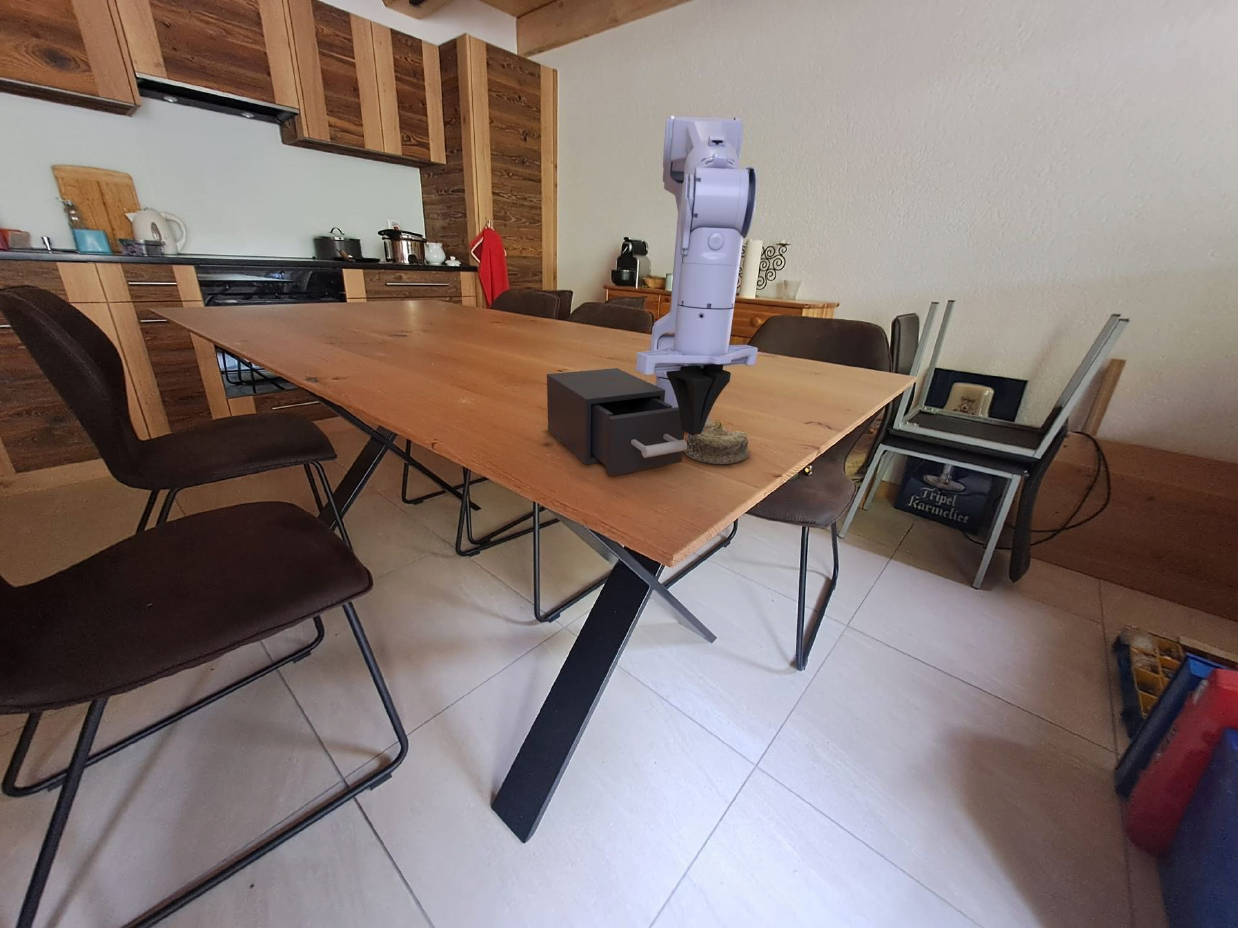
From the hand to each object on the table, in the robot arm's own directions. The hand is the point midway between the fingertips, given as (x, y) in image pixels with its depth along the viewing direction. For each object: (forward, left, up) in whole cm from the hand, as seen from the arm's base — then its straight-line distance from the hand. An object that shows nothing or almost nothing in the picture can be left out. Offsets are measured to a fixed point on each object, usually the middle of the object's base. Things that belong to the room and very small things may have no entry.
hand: (691, 431), depth 53 cm
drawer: (0, -13, -8) cm, 16 cm away
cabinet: (0, -22, -9) cm, 24 cm away
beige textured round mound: (-14, -11, -9) cm, 20 cm away
